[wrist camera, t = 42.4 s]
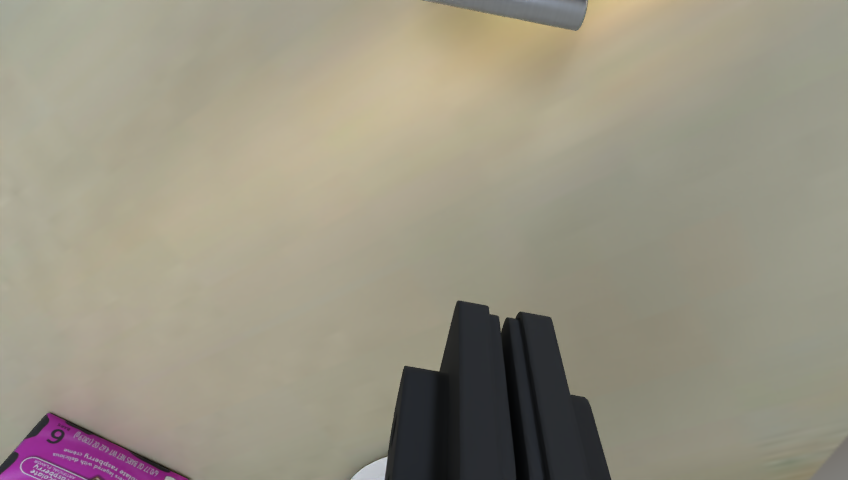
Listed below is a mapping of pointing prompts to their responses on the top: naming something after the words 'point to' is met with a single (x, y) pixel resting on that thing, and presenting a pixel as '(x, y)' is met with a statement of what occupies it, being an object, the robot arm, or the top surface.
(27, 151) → the top surface
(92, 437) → the candy bar box
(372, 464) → the candle holder
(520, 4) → the drawer
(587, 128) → the top surface
